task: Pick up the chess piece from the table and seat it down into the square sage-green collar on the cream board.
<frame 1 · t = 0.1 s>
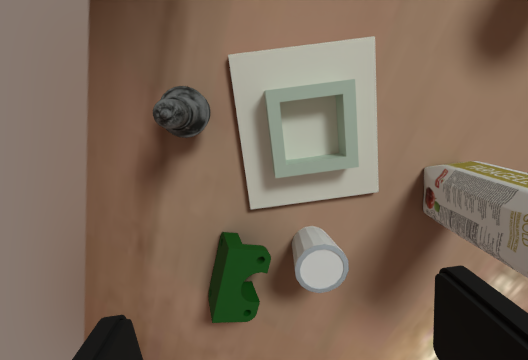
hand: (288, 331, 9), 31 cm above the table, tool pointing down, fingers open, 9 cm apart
juice carton: (442, 186, 42), on the table
white cylinder: (310, 243, 43), on the table
holder: (307, 127, 38), on the table
clamp: (238, 264, 43), on the table
chess piece: (190, 111, 37), on the table
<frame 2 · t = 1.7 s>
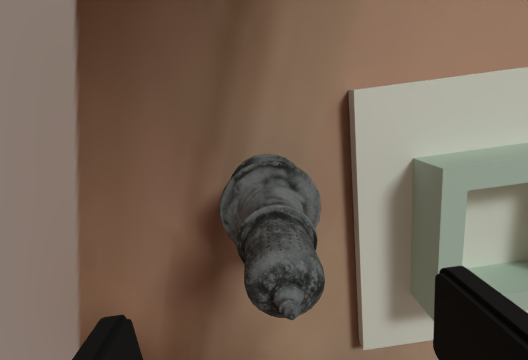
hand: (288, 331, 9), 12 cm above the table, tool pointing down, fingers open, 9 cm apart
holder: (473, 214, 21), on the table
chess piece: (266, 190, 20), on the table
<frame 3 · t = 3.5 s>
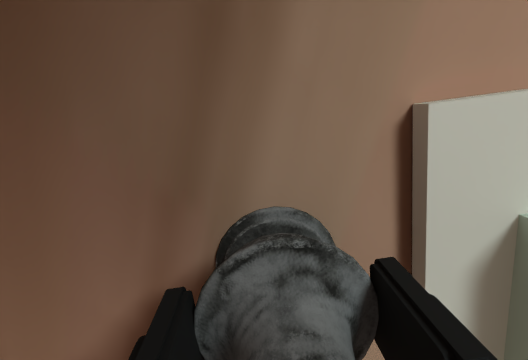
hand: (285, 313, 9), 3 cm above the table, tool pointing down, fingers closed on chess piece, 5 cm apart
chess piece: (276, 261, 13), on the table, touching gripper
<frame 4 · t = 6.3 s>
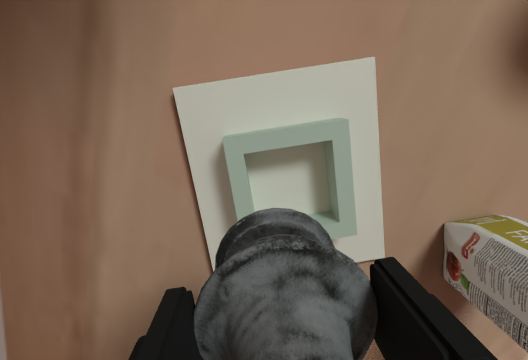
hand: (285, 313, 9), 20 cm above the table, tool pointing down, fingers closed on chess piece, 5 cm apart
juice carton: (468, 245, 32), on the table
holder: (287, 178, 29), on the table
chess piece: (275, 262, 13), point 16 cm above the table, touching gripper
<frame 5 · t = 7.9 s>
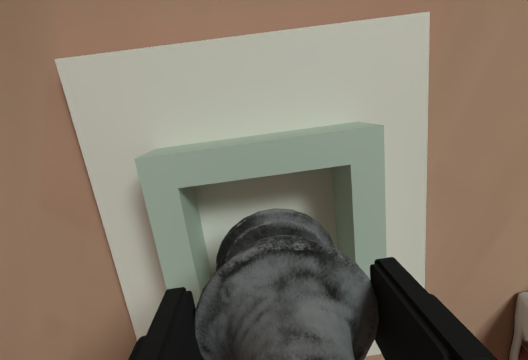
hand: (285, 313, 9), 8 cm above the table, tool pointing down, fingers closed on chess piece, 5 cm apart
holder: (268, 220, 17), on the table
chess piece: (276, 263, 13), point 5 cm above the table, touching gripper
when the fingers open (5 cm above the table, at t = 9.3 s): chess piece drops 1 cm, resting on holder.
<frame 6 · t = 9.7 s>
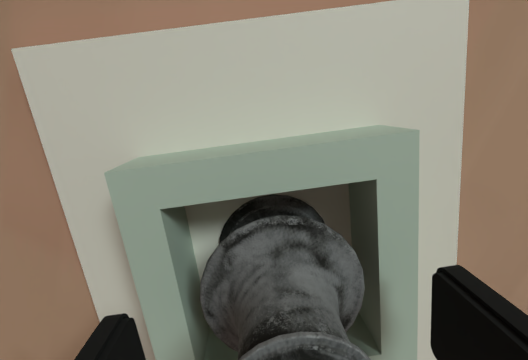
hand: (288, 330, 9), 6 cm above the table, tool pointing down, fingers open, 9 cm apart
holder: (272, 240, 15), on the table
chess piece: (274, 245, 14), point 1 cm above the table, touching holder
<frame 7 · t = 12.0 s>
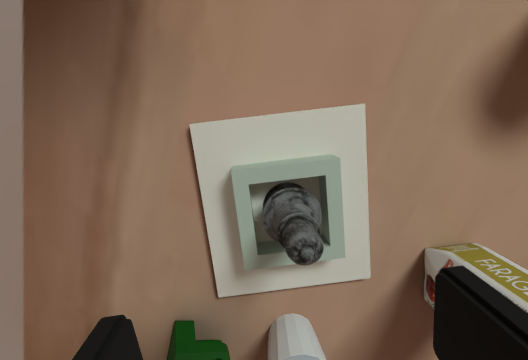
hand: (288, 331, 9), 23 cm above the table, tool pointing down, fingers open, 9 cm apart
juice carton: (446, 269, 35), on the table
white cylinder: (290, 331, 36), on the table
holder: (285, 204, 32), on the table
clamp: (197, 353, 36), on the table
chess piece: (286, 205, 31), point 1 cm above the table, touching holder
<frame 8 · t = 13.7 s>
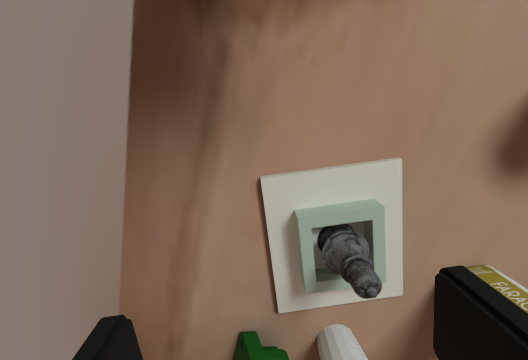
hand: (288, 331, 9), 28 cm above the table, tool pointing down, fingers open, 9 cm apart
juice carton: (464, 286, 43), on the table
white cylinder: (334, 338, 44), on the table
holder: (334, 237, 39), on the table
clamp: (256, 357, 44), on the table
chess piece: (336, 239, 38), point 1 cm above the table, touching holder
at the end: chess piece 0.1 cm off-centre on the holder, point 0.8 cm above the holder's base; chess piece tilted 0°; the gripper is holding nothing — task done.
